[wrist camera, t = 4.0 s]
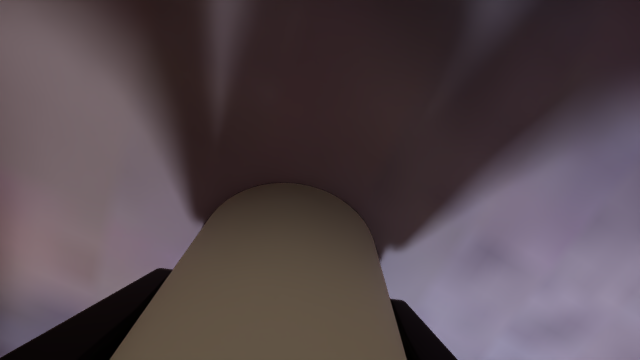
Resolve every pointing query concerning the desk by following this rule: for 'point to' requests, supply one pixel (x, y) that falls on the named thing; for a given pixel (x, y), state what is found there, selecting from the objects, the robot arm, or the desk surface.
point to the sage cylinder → (272, 286)
